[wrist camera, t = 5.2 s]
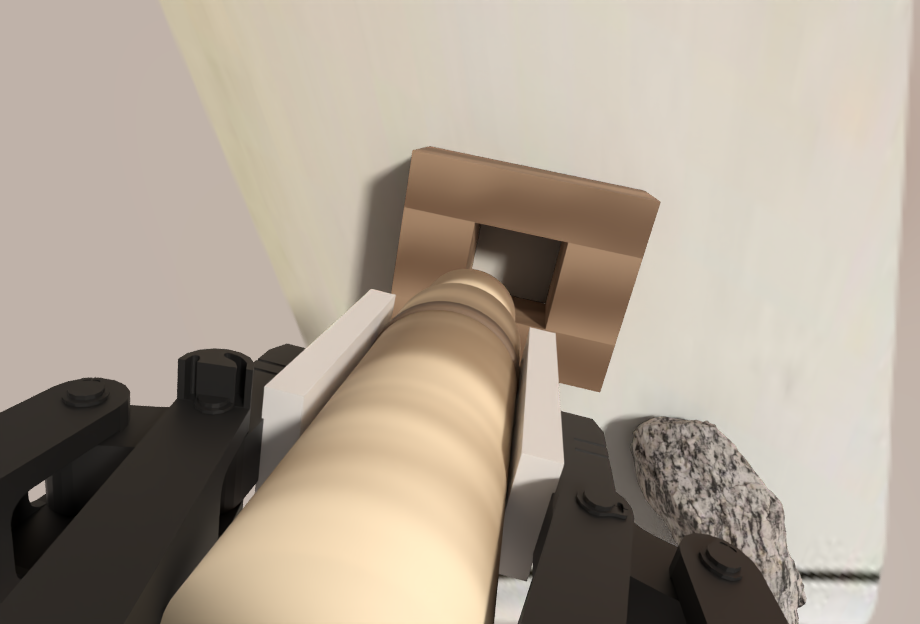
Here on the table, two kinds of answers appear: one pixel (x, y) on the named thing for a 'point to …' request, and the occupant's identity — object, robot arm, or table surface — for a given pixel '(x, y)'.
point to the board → (541, 214)
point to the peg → (385, 483)
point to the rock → (716, 498)
